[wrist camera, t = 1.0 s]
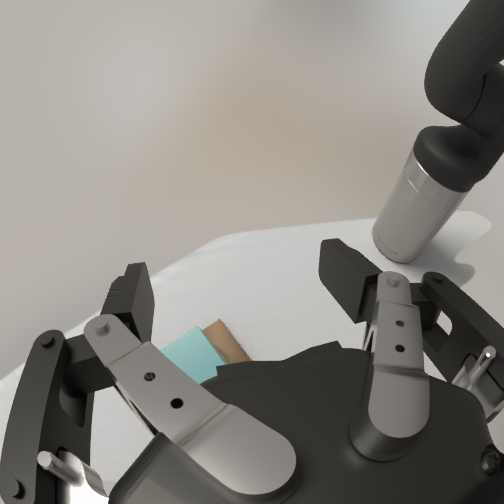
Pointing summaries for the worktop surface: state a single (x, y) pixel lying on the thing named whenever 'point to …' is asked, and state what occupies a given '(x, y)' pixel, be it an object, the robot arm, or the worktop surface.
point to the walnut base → (225, 343)
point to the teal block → (195, 355)
